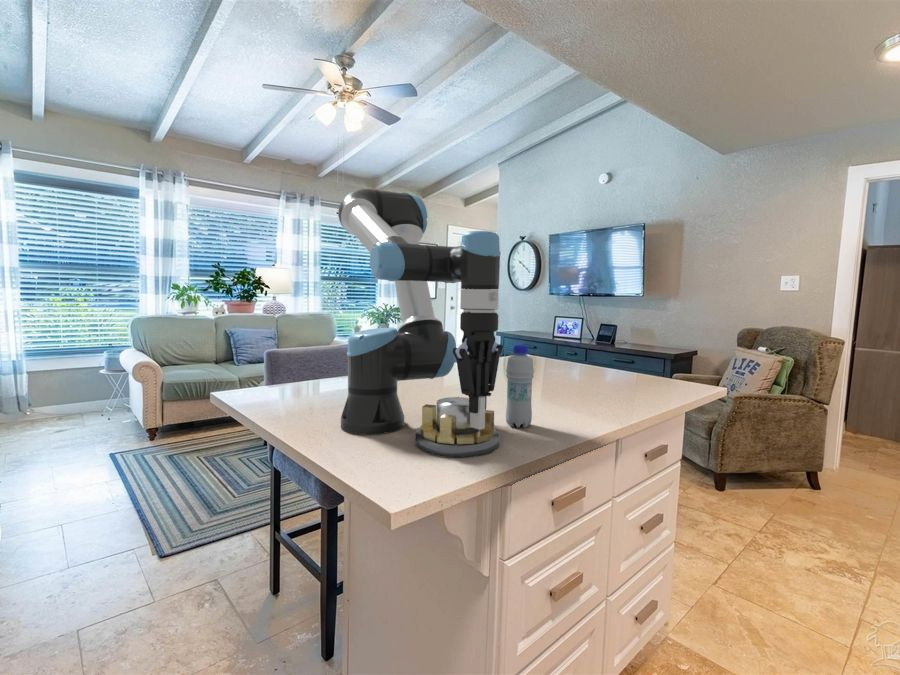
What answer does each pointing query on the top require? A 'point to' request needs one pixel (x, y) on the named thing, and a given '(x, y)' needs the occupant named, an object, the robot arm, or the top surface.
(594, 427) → the top surface
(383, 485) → the top surface
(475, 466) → the top surface
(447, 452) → the cap plate
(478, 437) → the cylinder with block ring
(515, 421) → the bottle
